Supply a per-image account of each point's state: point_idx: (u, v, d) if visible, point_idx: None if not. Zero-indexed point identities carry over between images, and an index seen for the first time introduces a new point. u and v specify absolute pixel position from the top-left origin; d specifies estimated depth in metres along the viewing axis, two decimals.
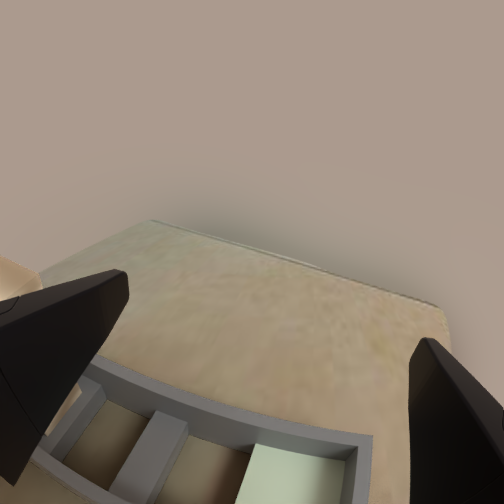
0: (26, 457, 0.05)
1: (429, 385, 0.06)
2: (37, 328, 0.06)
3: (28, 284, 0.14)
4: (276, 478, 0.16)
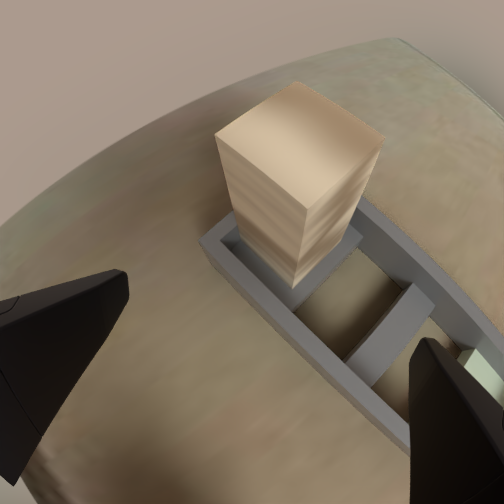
0: (26, 457, 0.05)
1: (429, 385, 0.06)
2: (37, 328, 0.06)
3: (372, 150, 0.12)
4: None
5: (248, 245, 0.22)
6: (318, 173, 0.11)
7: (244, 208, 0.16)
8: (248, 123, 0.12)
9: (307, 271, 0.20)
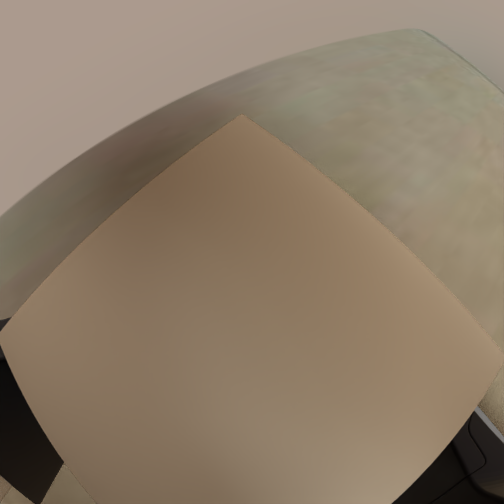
0: (52, 476, 0.05)
1: None
2: None
3: (462, 416, 0.03)
4: None
5: None
6: None
7: None
8: (61, 311, 0.03)
9: None
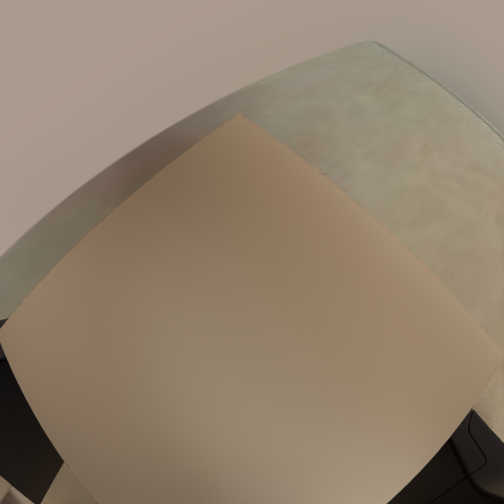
0: (52, 475, 0.05)
1: None
2: None
3: (459, 414, 0.03)
4: None
5: None
6: None
7: None
8: (60, 307, 0.03)
9: None
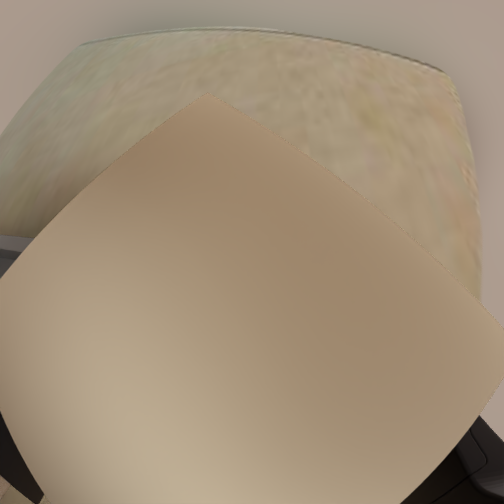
0: None
1: None
2: None
3: (463, 424, 0.02)
4: None
5: None
6: None
7: None
8: (23, 292, 0.03)
9: None
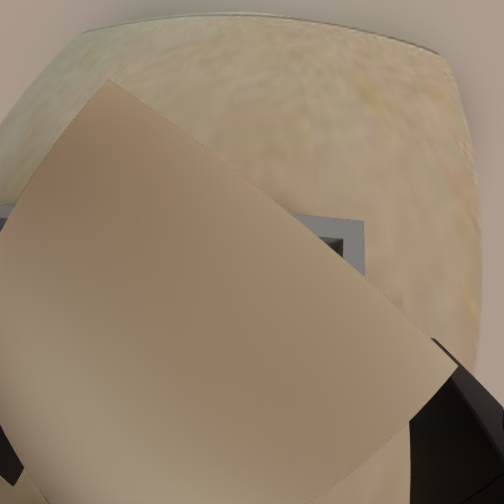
0: None
1: None
2: None
3: (368, 449, 0.02)
4: None
5: None
6: None
7: None
8: None
9: None
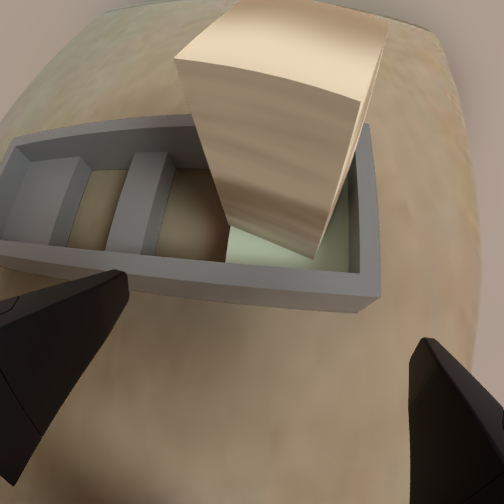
0: (26, 458, 0.05)
1: (429, 385, 0.06)
2: (37, 328, 0.06)
3: (385, 35, 0.07)
4: None
5: (241, 226, 0.17)
6: (345, 61, 0.07)
7: (233, 166, 0.11)
8: (216, 36, 0.07)
9: (325, 231, 0.16)
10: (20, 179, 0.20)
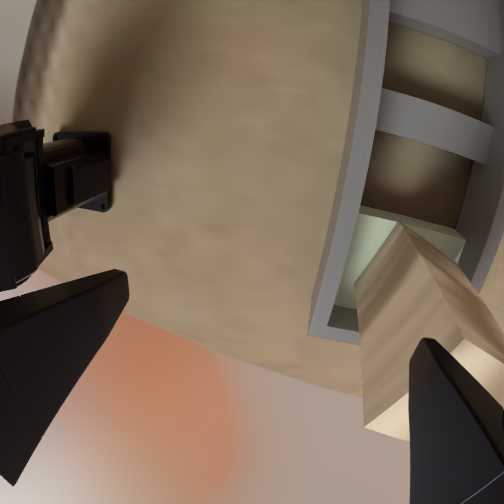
0: (26, 458, 0.05)
1: (429, 385, 0.06)
2: (37, 328, 0.06)
3: None
4: None
5: (392, 233, 0.17)
6: (403, 426, 0.09)
7: (410, 288, 0.12)
8: (474, 364, 0.08)
9: None
10: None
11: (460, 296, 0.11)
